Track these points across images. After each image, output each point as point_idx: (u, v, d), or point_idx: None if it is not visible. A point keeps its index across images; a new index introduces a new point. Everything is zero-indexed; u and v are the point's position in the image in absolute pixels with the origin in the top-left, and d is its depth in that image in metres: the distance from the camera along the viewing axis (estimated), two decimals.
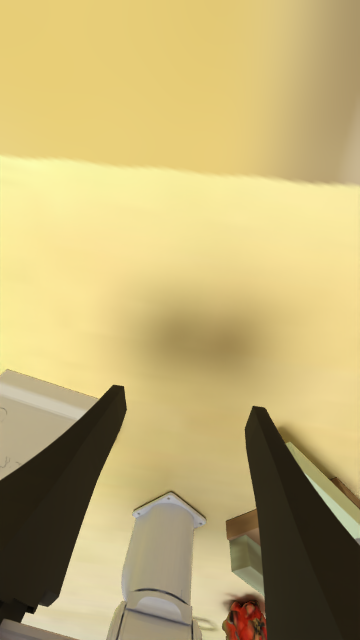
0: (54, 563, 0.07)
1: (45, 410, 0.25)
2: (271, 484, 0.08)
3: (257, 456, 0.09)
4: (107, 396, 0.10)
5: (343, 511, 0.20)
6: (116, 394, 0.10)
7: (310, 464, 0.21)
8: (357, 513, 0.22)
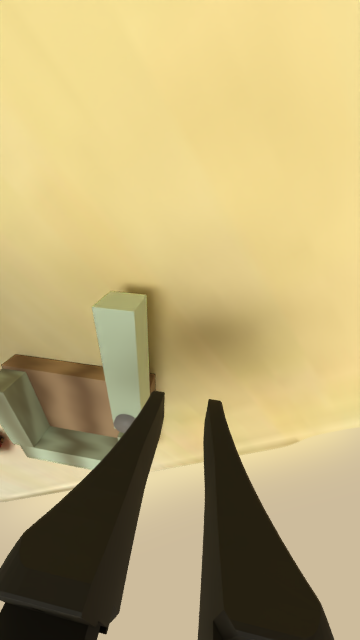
0: (119, 579, 0.07)
1: None
2: (211, 473, 0.08)
3: (207, 448, 0.09)
4: (151, 403, 0.10)
5: (137, 383, 0.17)
6: (159, 401, 0.10)
7: (145, 331, 0.17)
8: (146, 401, 0.21)
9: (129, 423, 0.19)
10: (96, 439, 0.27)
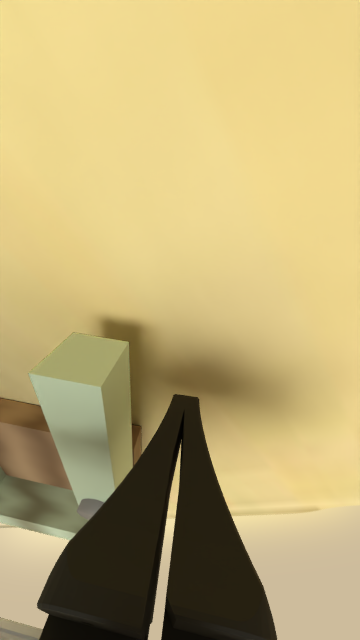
0: (155, 588, 0.06)
1: None
2: (181, 467, 0.08)
3: (182, 443, 0.10)
4: (175, 407, 0.10)
5: (110, 472, 0.11)
6: (183, 404, 0.10)
7: (126, 393, 0.11)
8: (126, 474, 0.15)
9: None
10: (64, 496, 0.22)
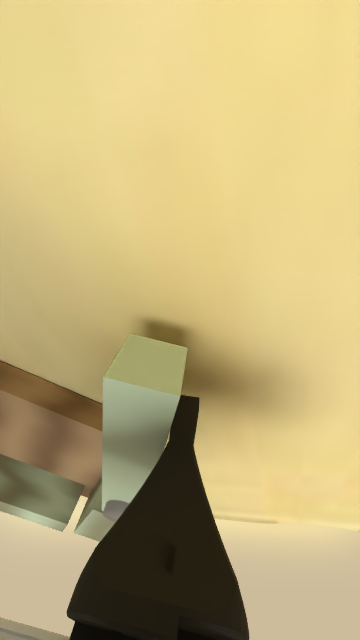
0: None
1: None
2: None
3: None
4: (189, 409, 0.10)
5: None
6: (197, 407, 0.10)
7: None
8: None
9: None
10: (47, 480, 0.20)
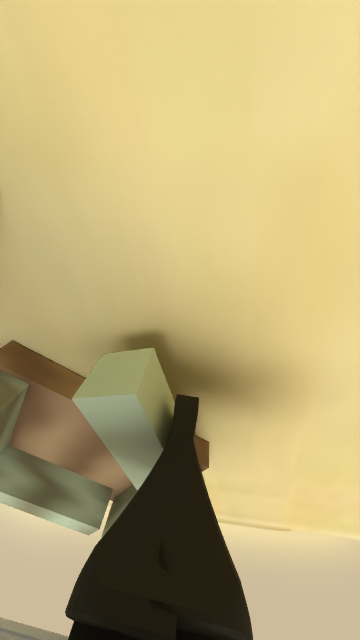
0: None
1: None
2: None
3: None
4: (189, 409, 0.10)
5: None
6: (196, 406, 0.10)
7: (168, 398, 0.11)
8: None
9: None
10: (77, 483, 0.20)
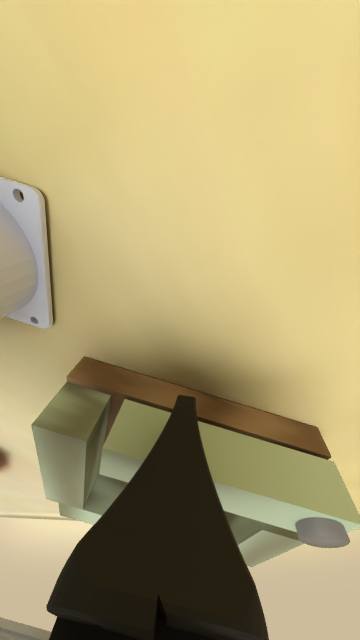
0: None
1: None
2: None
3: None
4: (180, 407, 0.10)
5: (232, 487, 0.10)
6: (187, 405, 0.10)
7: None
8: (301, 472, 0.12)
9: (317, 533, 0.10)
10: None
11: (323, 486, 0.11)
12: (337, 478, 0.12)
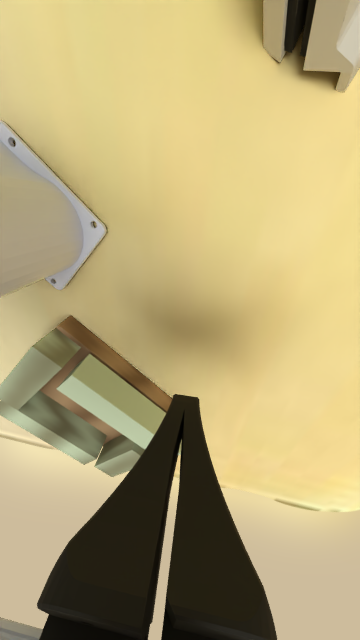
0: (155, 588, 0.06)
1: None
2: (181, 467, 0.08)
3: None
4: (175, 407, 0.10)
5: (130, 418, 0.20)
6: (183, 404, 0.10)
7: (111, 376, 0.21)
8: None
9: None
10: (83, 426, 0.26)
11: None
12: None
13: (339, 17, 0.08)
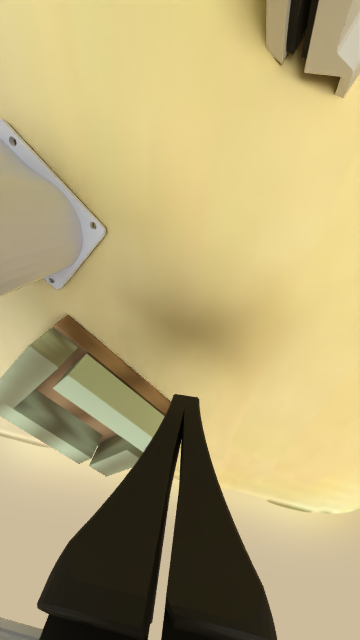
0: (155, 588, 0.06)
1: None
2: (181, 467, 0.08)
3: (182, 443, 0.10)
4: (175, 407, 0.10)
5: (125, 418, 0.20)
6: (183, 404, 0.10)
7: (107, 377, 0.21)
8: None
9: None
10: (78, 425, 0.26)
11: None
12: None
13: (340, 21, 0.08)
